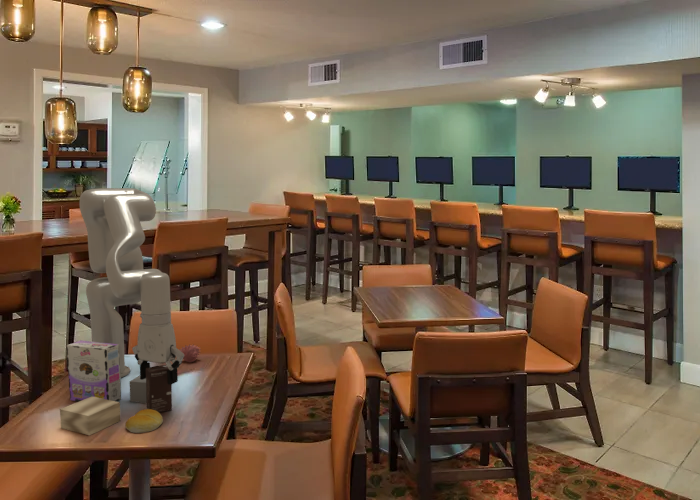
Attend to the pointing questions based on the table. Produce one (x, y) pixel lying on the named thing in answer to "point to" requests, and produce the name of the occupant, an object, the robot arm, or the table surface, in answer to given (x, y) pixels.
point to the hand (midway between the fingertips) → (158, 380)
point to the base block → (90, 415)
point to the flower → (190, 353)
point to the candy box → (94, 370)
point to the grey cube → (138, 390)
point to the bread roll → (144, 421)
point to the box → (158, 389)
